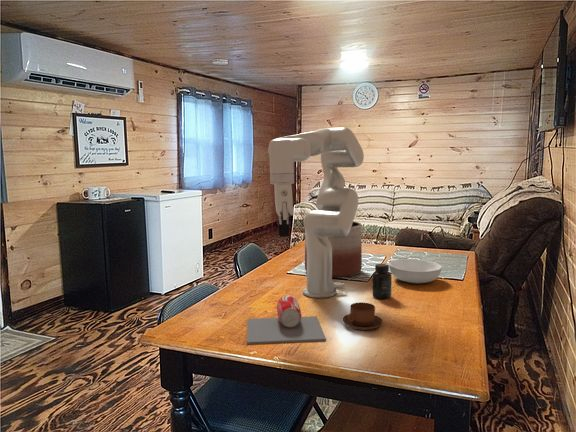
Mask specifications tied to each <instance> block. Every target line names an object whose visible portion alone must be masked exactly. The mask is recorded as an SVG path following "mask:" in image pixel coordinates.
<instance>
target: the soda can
mask: <svg viewBox="0 0 576 432" xmlns="http://www.w3.org/2000/svg"><path fill="white" fill-rule="evenodd" d="M276 311H277V318H279V321H280V322H281V324H283V325H284V326H286V327H294V326H296V325H297V324H298V323H299V322H300V320H301V317H302V312H301V307H300V304H299V302H298V300H297V298H296V297H295V296H292V295H283V296H281V297H280V298H279V299H278V301H277V304H276Z"/></svg>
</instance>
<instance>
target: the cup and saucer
mask: <svg viewBox="0 0 576 432" xmlns="http://www.w3.org/2000/svg"><path fill="white" fill-rule="evenodd" d="M349 307H350V313H349V314H346V315H343V317H342V322H343V323H344V325H345V326H347V327H349V328H351V329H355V330H360V331H370V330H374V329H377V328H379V327H381V326H382V324H383V319H382V317H380V316H377V315H376V313H375V312H376V310H375V309H376V306H375V305H374V304H372V303H368V302H362V301H361V302H352V303H351V304H350V306H349Z"/></svg>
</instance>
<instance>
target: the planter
mask: <svg viewBox="0 0 576 432" xmlns="http://www.w3.org/2000/svg"><path fill="white" fill-rule="evenodd" d="M327 238H328V239H329V241H330V243H331V245H332V279H342V277H345V278H350V277H353V276H356V275H359V273H360V272H361V271H362V266H363V264H362V262H363V261H362V259H363V257H362V253H363V252H362V249H363V248H362V246H363V245H362V238H363V237H362V223H360V222H357V221H354V220H353V223H352V226H351V229H350V232H349V234H348V235H347V236H346V237H327ZM304 271H306V272H307V241H306V233H305V232H304Z"/></svg>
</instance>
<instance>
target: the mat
mask: <svg viewBox="0 0 576 432" xmlns="http://www.w3.org/2000/svg"><path fill="white" fill-rule="evenodd" d="M246 320H247V327H246V328H247V330H246V345H258V344H259V345H260V344H262V345H264V344H280V343H281V344H283V343H284V344H285V343H287V344H288V343H303V342H307V343H308V342H309V343H310V342H326V341H327V337H326V335H325V333H324V331H323V328H322V326H321V324H320V321H319V319H318V315H317V316H316V315H314V316H313V315H312V316H301V320H300V322H299V323H298V324H297V325H296V326H294V327H286V326H284V325H283V324H281V322H280V321H279V318H278V317H264V318H262V317H261V318H260V317H259V318H247V319H246Z"/></svg>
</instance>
